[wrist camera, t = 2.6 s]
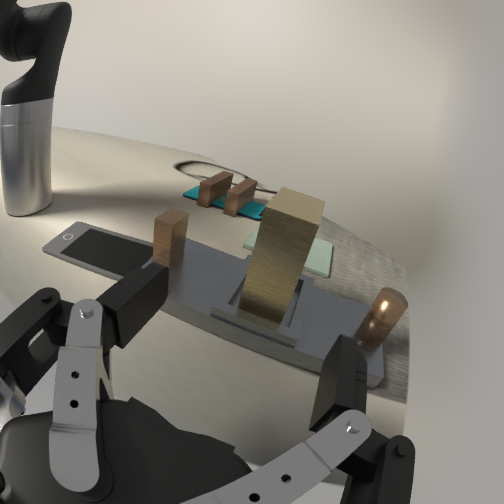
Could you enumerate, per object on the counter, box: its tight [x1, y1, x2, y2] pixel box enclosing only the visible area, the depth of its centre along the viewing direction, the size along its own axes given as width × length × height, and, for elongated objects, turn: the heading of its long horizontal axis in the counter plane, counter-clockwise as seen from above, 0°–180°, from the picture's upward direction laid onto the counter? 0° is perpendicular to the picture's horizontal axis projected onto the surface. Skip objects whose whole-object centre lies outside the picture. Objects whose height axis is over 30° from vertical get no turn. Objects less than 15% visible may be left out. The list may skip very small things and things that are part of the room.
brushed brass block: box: [238, 187, 325, 324], centre depth 24 cm, size 4×6×10 cm, turn 162°
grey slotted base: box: [141, 209, 408, 390], centre depth 26 cm, size 25×10×7 cm, turn 72°
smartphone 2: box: [183, 186, 265, 221], centre depth 50 cm, size 7×1×15 cm
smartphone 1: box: [42, 222, 153, 281], centre depth 30 cm, size 15×8×1 cm, turn 82°
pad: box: [243, 225, 333, 278], centre depth 41 cm, size 12×10×1 cm
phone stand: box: [197, 171, 257, 217], centre depth 49 cm, size 7×10×4 cm
